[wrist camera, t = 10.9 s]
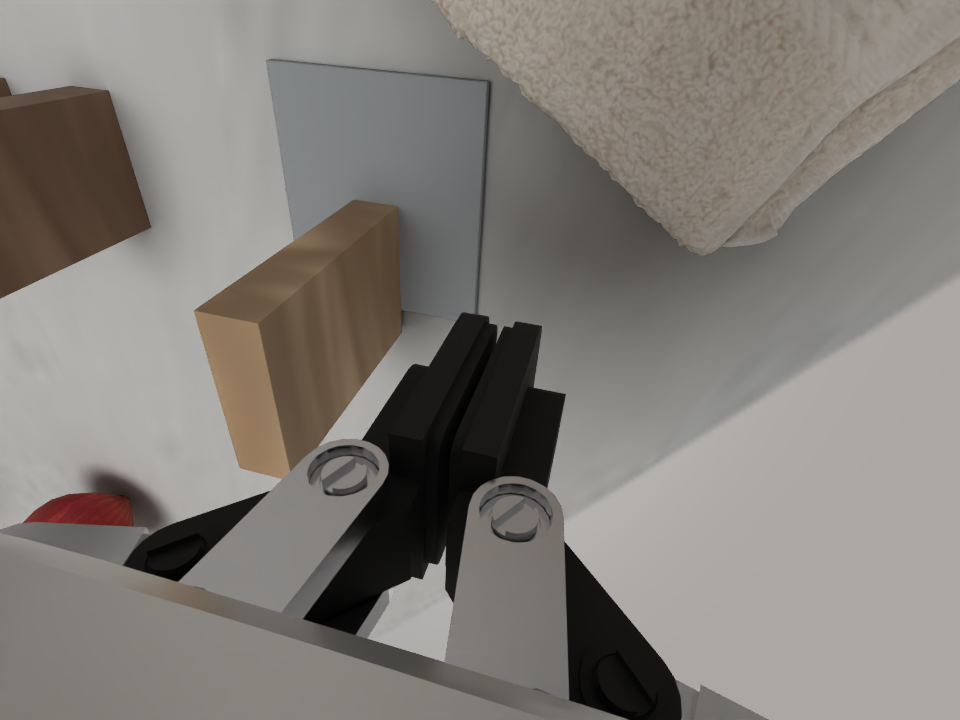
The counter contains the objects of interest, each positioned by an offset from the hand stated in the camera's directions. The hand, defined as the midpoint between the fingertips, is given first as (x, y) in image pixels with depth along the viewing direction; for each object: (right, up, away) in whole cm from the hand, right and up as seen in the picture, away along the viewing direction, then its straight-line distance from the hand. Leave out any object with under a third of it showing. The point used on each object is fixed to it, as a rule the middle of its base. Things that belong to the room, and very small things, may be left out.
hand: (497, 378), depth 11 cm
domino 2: (-4, +4, +8) cm, 10 cm away
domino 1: (-14, +8, +9) cm, 19 cm away
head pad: (-4, +6, +7) cm, 10 cm away
